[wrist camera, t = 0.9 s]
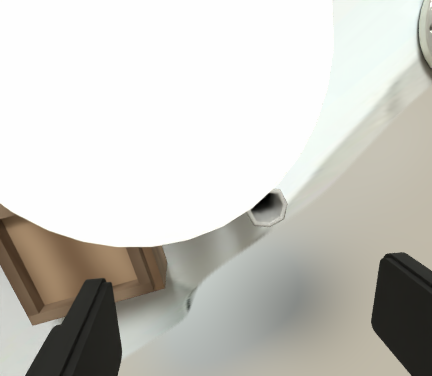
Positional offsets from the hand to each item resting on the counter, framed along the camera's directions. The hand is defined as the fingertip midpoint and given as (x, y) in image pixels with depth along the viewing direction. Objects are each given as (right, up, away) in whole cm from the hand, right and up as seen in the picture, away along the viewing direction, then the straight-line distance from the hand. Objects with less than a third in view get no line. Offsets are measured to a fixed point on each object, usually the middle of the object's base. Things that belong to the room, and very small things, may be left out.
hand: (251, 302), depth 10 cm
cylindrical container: (-6, +13, +19) cm, 24 cm away
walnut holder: (-15, 0, +21) cm, 26 cm away
